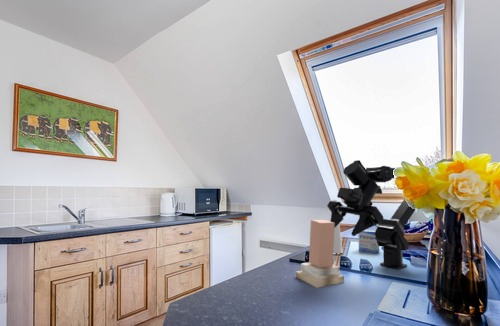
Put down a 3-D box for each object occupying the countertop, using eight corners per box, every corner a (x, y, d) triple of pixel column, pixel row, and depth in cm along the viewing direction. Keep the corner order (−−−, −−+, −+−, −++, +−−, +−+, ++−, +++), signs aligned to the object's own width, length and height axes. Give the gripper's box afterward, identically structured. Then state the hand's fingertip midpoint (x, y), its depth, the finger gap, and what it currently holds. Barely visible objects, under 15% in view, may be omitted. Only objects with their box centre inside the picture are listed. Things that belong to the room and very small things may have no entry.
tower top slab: (322, 268, 92) (322, 260, 92) (339, 275, 85) (339, 267, 85) (301, 271, 89) (301, 263, 89) (317, 279, 82) (317, 270, 82)
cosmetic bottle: (337, 255, 115) (336, 200, 117) (325, 252, 120) (323, 199, 122) (346, 253, 119) (344, 199, 121) (333, 250, 124) (332, 199, 125)
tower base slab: (321, 275, 93) (321, 267, 93) (344, 284, 84) (343, 276, 84) (296, 279, 89) (296, 271, 89) (316, 290, 80) (316, 281, 80)
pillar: (322, 261, 90) (324, 219, 91) (332, 266, 86) (334, 222, 86) (309, 262, 88) (310, 220, 89) (318, 267, 84) (320, 223, 84)
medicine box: (358, 251, 122) (357, 230, 123) (359, 249, 126) (359, 229, 126) (378, 253, 118) (378, 232, 119) (379, 251, 122) (378, 230, 123)
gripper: (330, 178, 102) (306, 212, 96) (376, 179, 85) (351, 220, 80) (346, 198, 105) (324, 232, 100) (393, 204, 89) (370, 245, 84)
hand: (340, 232), depth 91 cm, fingers open, 9 cm apart
